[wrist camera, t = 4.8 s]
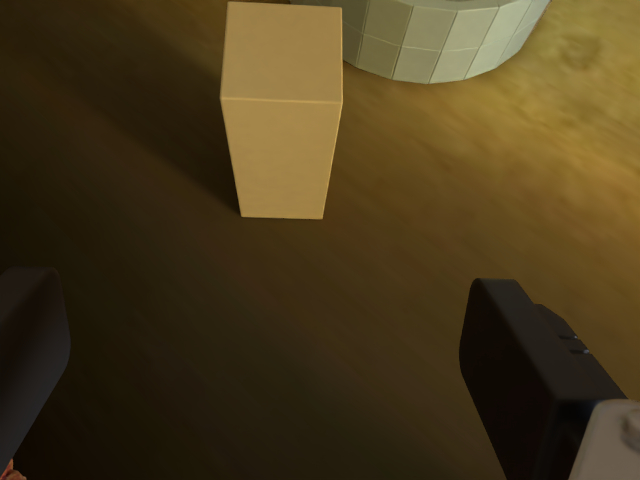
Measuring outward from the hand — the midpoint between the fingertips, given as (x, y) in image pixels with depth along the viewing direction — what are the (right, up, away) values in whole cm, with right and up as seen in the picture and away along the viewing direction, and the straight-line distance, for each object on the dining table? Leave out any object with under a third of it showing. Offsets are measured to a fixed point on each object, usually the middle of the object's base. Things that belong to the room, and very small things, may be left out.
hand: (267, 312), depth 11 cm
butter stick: (-1, +4, +17) cm, 18 cm away
